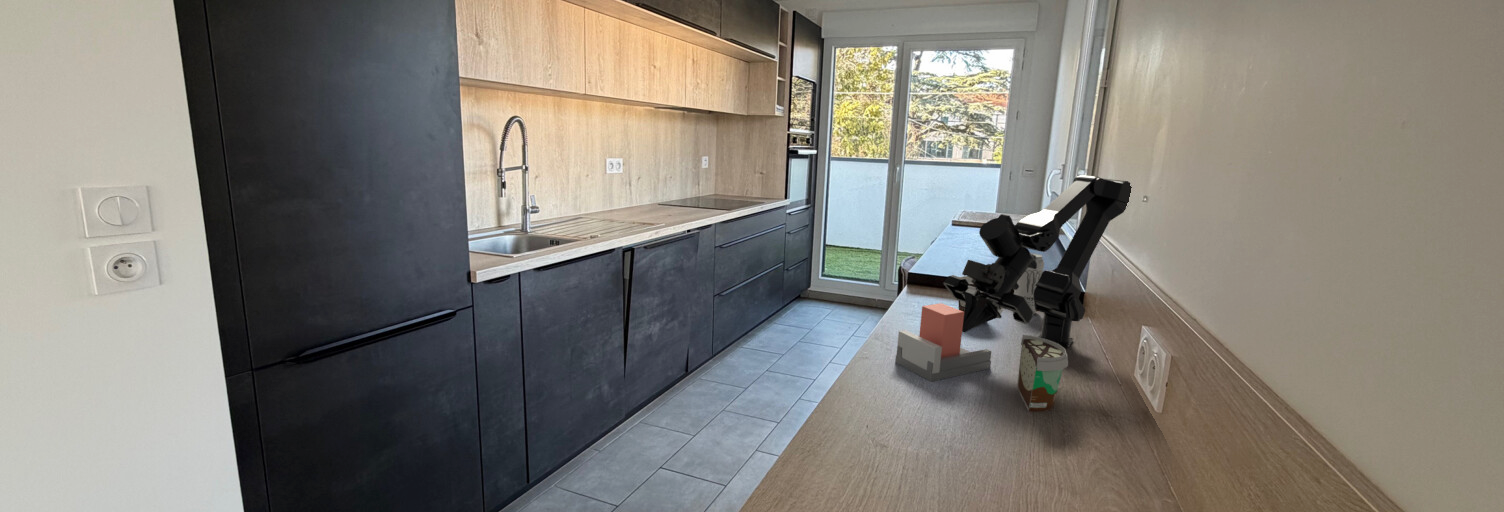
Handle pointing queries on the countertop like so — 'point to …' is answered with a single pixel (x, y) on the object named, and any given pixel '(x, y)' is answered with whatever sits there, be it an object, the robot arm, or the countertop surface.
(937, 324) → the red plug
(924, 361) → the grey slotted holder tray
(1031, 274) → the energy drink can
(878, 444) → the countertop surface
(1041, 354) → the food container
